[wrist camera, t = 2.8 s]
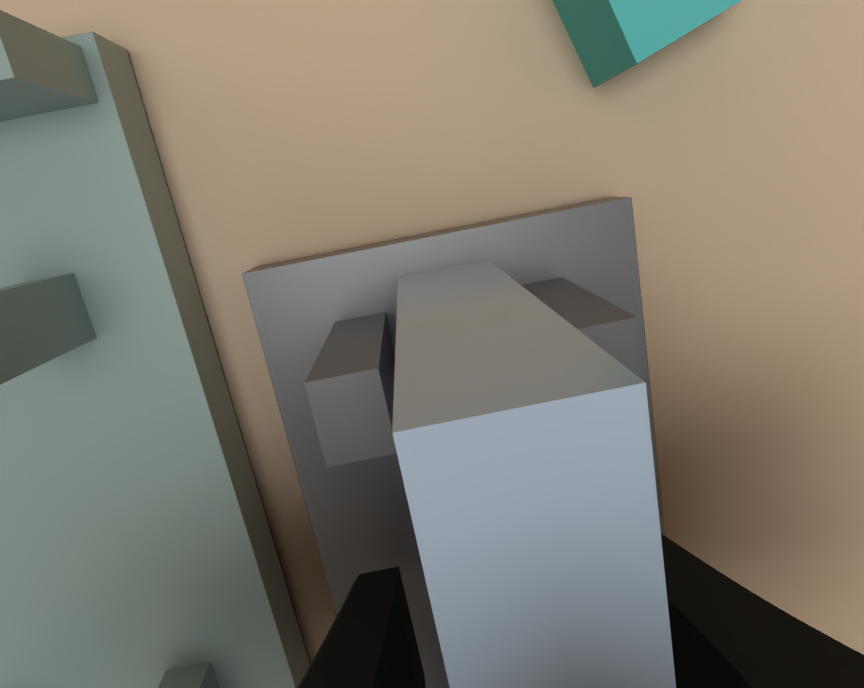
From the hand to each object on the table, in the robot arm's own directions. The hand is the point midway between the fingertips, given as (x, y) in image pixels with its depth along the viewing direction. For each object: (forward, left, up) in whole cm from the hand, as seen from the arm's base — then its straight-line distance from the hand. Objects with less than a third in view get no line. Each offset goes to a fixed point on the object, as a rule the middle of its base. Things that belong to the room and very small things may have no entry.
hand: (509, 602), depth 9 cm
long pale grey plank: (0, 0, -1) cm, 1 cm away
